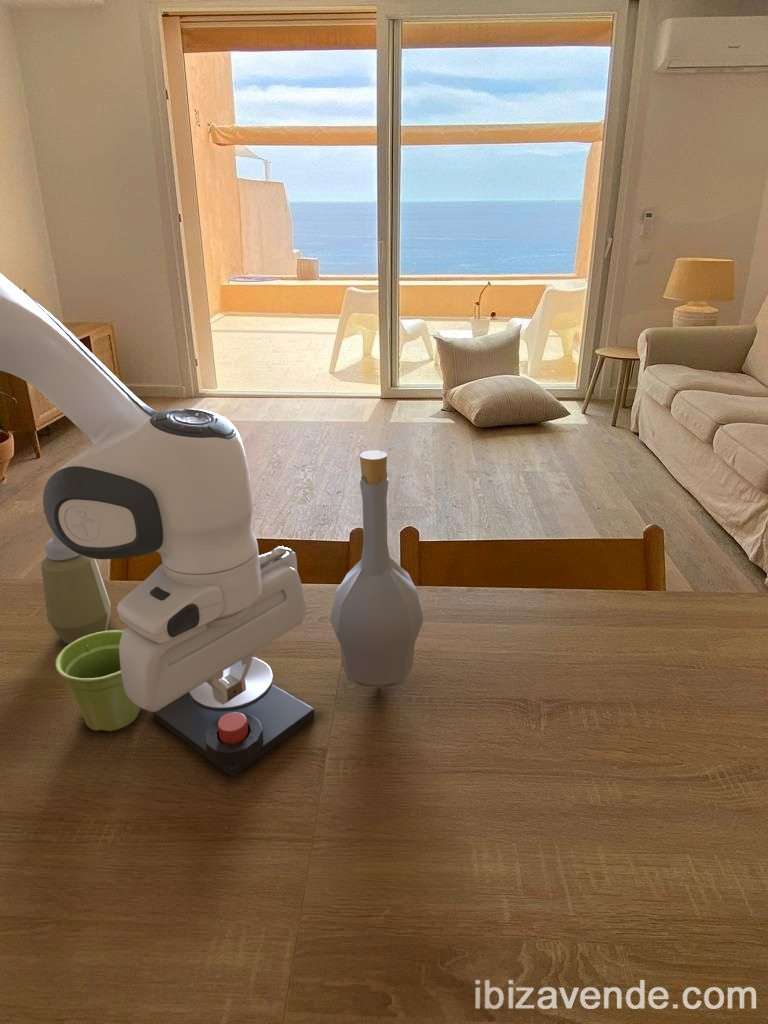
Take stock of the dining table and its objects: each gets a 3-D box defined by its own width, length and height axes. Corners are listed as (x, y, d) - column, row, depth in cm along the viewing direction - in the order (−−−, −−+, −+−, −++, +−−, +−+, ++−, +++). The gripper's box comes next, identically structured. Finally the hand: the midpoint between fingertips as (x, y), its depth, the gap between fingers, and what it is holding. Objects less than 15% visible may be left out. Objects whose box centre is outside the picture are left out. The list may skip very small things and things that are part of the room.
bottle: (352, 727, 79) (342, 481, 66) (319, 671, 88) (305, 446, 76) (440, 699, 83) (446, 463, 70) (399, 649, 92) (399, 432, 80)
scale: (151, 722, 80) (147, 701, 78) (236, 670, 88) (234, 650, 87) (232, 783, 71) (229, 760, 70) (317, 718, 80) (316, 697, 79)
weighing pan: (172, 688, 81) (171, 684, 80) (237, 650, 87) (236, 646, 87) (224, 724, 75) (224, 719, 75) (289, 680, 82) (289, 676, 81)
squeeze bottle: (122, 637, 95) (98, 519, 88) (59, 658, 91) (29, 535, 84) (107, 611, 101) (83, 498, 94) (47, 630, 97) (18, 513, 90)
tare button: (213, 735, 74) (211, 723, 73) (235, 720, 76) (234, 708, 75) (231, 748, 72) (229, 735, 71) (253, 732, 74) (252, 720, 73)
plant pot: (133, 679, 87) (121, 620, 83) (170, 714, 81) (160, 653, 77) (57, 714, 81) (42, 653, 78) (92, 756, 75) (76, 691, 71)
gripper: (273, 532, 75) (283, 639, 81) (99, 613, 61) (126, 735, 67) (314, 548, 72) (322, 659, 77) (139, 638, 57) (164, 766, 63)
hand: (230, 695), depth 72 cm, fingers closed
